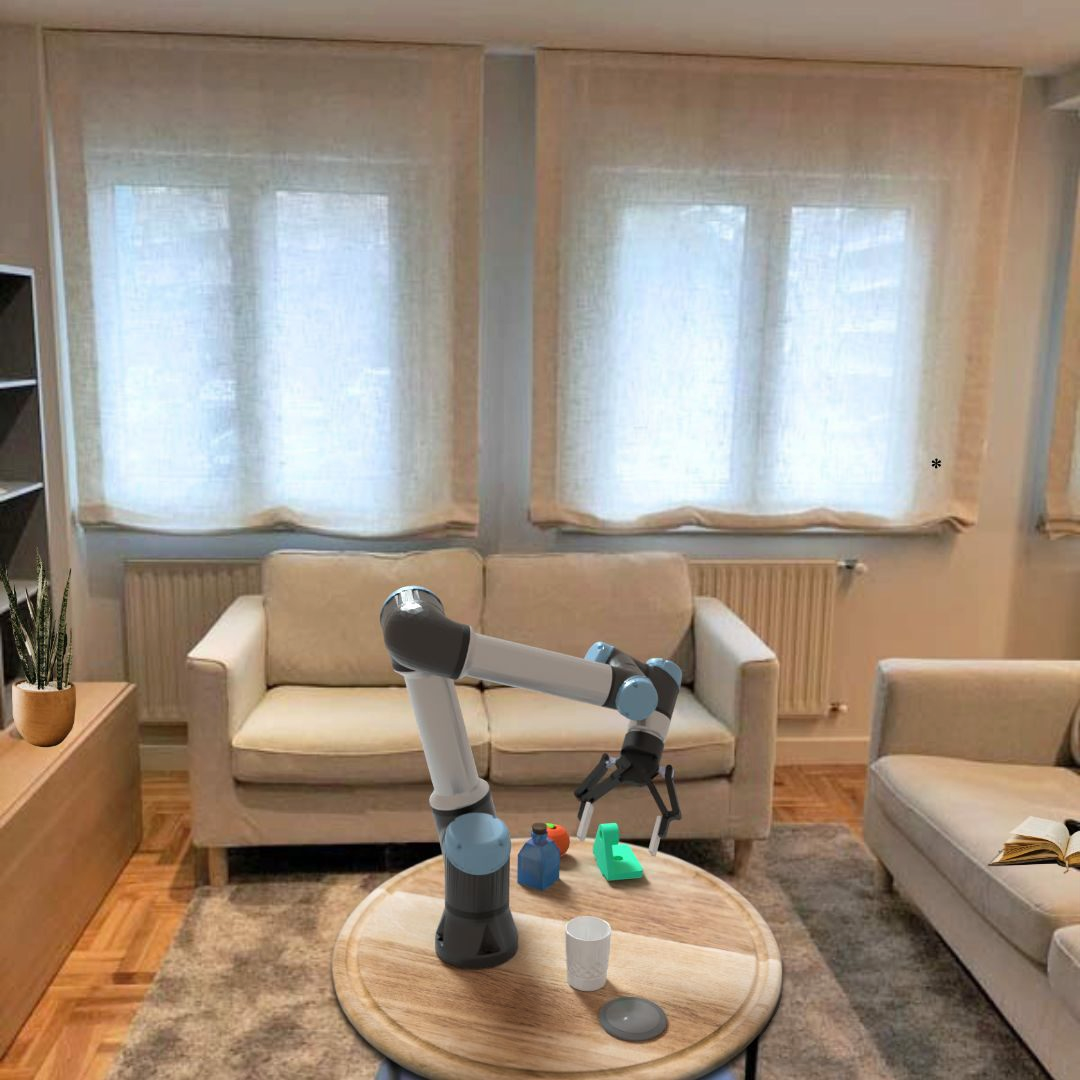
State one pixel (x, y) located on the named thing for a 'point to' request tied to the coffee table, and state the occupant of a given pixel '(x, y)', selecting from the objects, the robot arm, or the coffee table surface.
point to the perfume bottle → (538, 860)
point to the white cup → (587, 952)
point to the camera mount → (614, 855)
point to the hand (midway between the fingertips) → (615, 846)
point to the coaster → (632, 1018)
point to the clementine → (558, 837)
